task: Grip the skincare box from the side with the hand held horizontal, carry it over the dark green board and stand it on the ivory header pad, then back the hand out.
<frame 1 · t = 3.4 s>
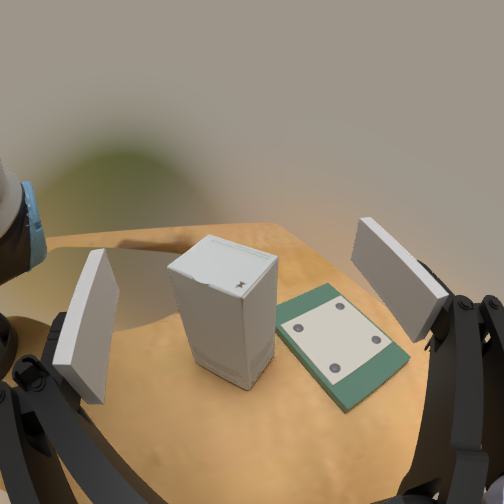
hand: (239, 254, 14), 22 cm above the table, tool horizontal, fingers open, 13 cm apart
skincare box: (232, 361, 33), on the table
board: (335, 341, 35), on the table
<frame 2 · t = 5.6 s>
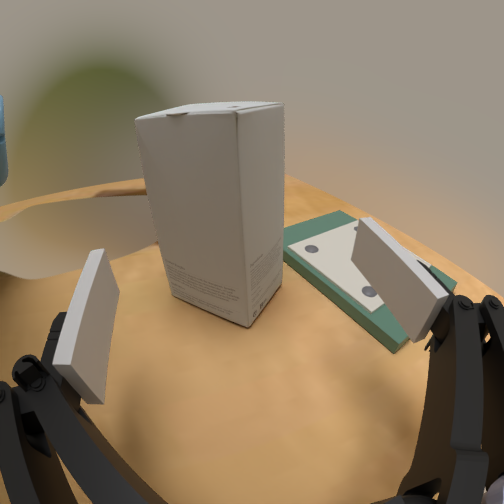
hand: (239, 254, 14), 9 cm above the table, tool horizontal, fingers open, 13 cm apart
skincare box: (224, 292, 25), on the table
board: (361, 267, 27), on the table
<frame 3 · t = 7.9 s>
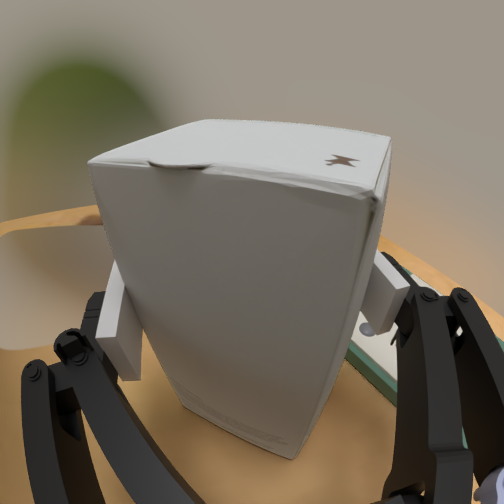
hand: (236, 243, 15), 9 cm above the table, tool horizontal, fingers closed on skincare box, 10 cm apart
skincare box: (254, 400, 16), on the table, touching gripper
board: (422, 346, 19), on the table
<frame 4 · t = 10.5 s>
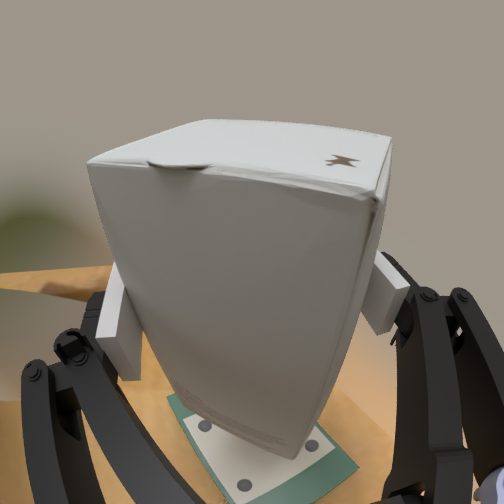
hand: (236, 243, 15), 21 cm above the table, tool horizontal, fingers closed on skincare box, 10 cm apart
skincare box: (254, 401, 16), point 12 cm above the table, touching gripper
board: (257, 442, 24), on the table
when the fingers open (11 cm above the table, at t = 13.4 s): skincare box stays where it is, resting on board.
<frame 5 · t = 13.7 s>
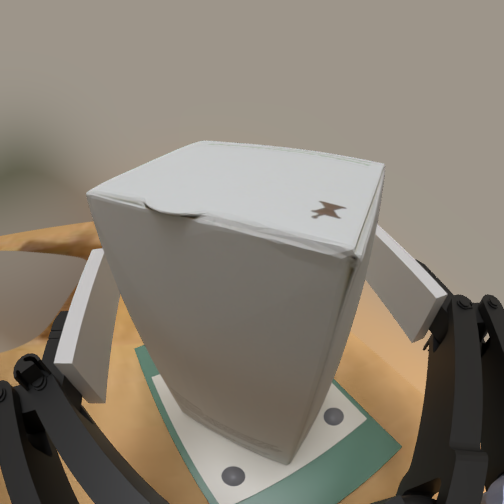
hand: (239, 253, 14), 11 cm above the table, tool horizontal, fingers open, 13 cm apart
skincare box: (251, 408, 17), point 1 cm above the table, touching board
board: (254, 413, 18), on the table
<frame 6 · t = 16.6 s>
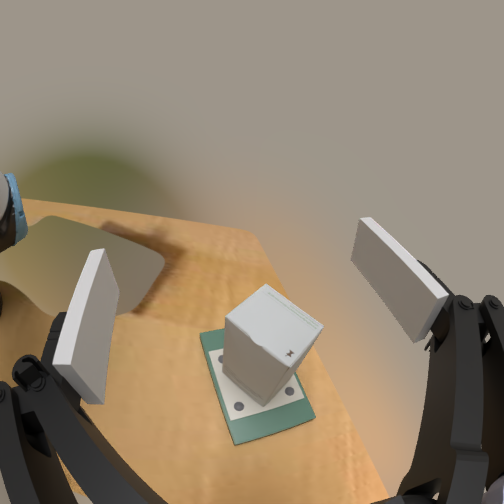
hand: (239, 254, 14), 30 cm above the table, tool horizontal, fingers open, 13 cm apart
skincare box: (254, 376, 38), point 1 cm above the table, touching board
board: (254, 379, 39), on the table
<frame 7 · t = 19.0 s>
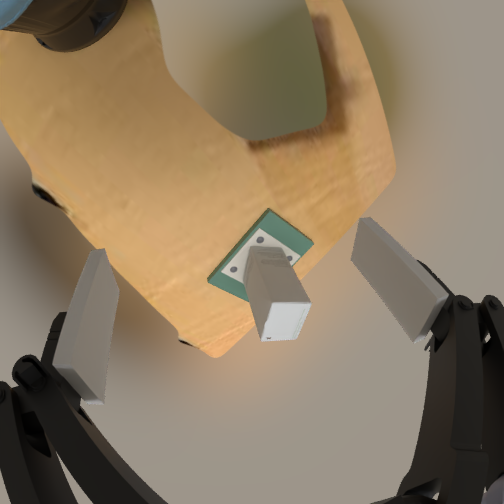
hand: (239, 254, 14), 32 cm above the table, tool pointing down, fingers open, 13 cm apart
skincare box: (260, 262, 53), point 1 cm above the table, touching board
board: (259, 259, 55), on the table
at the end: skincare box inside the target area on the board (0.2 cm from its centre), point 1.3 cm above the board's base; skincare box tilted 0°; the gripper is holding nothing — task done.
